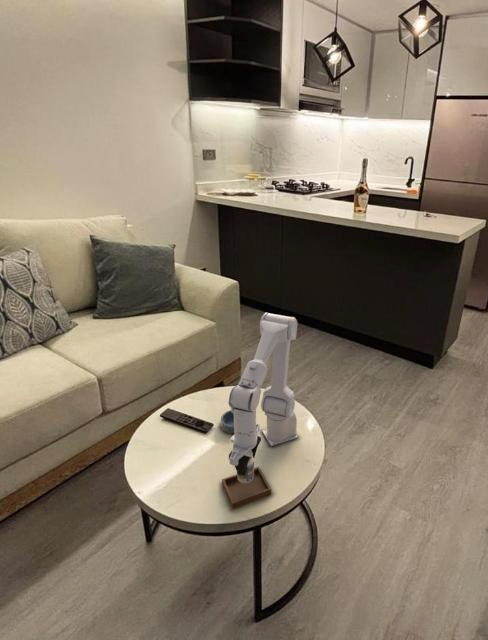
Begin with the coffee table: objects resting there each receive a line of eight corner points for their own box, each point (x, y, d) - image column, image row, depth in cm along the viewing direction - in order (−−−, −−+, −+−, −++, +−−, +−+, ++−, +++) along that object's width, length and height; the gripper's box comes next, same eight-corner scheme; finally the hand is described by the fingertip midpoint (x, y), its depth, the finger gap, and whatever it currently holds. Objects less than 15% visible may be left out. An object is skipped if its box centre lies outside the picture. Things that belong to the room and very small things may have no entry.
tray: (258, 471, 121) (258, 466, 120) (271, 494, 113) (271, 489, 112) (222, 484, 116) (221, 479, 115) (232, 509, 108) (232, 503, 107)
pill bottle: (251, 485, 110) (250, 461, 107) (234, 481, 111) (233, 458, 108) (256, 472, 114) (256, 448, 111) (240, 469, 115) (239, 445, 112)
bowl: (243, 413, 145) (243, 406, 144) (252, 429, 138) (252, 422, 136) (218, 420, 141) (217, 413, 140) (226, 437, 134) (225, 430, 132)
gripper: (243, 407, 114) (243, 445, 119) (217, 441, 101) (220, 482, 106) (266, 413, 112) (266, 451, 117) (243, 448, 99) (244, 490, 104)
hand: (245, 467), depth 111 cm, fingers closed on pill bottle, 5 cm apart
